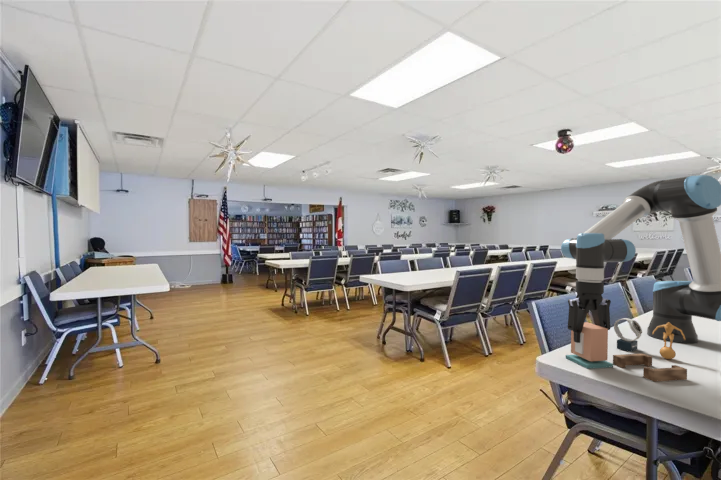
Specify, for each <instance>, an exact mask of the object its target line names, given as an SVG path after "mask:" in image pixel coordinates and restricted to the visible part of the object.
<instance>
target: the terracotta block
mask: <svg viewBox="0 0 721 480" xmlns="http://www.w3.org/2000/svg"><path fill="white" fill-rule="evenodd" d="M577 329H578V328H577ZM581 333H584V354H581V353H578V352H576V351H575V342H574V332H573V331H572V330H570V353H571V354H572V355H577V356H580V357H582V358H584V359H586V360H589V361H608V356H609V355H608V352H609V351H608V350H609V349H608V346H609V345H608V343H609V340H608V339H609V334H608V333H609V330H608V329H607V328H604V327H601V326H598V325H595V324H594V323H590V322H588V321H585V322H584V325H583V329H582V332H581Z"/></svg>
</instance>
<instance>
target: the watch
mask: <svg viewBox="0 0 721 480" xmlns="http://www.w3.org/2000/svg"><path fill="white" fill-rule="evenodd" d="M620 321H627V323H628V325H629V328H630V329H631V331H632V333H634V334H635V336H636V338H634V339H632V338H626V337H625V336H623V334H622V332H621V330H620V327H619V325H618V324H619V323H620ZM613 331H614V332H615V334H616V336H617V337H618V339H616V350H622V351H626V352H628V353H629V352H630V353H632V352H634V351H637V350H638V342H639V341H638V340H639V339H640V338H641V336H642V333H643V329H642V327H641V325H640V324H639V322H637V321H636V320H634V319H632V318H629V317H628V318H627V317H623V318H620V319H617V320H615V322H614V324H613Z"/></svg>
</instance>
